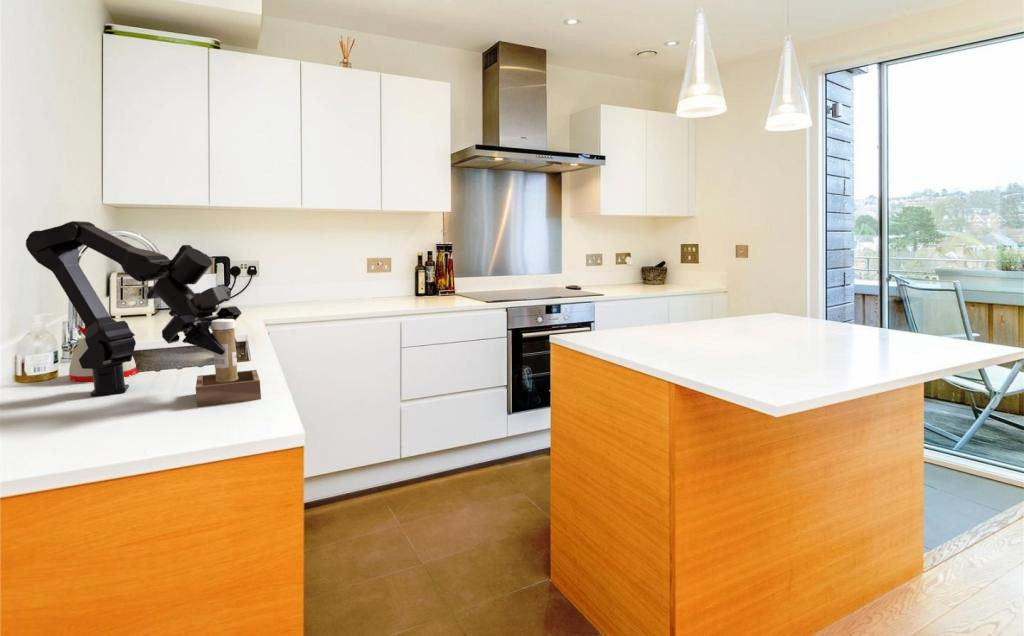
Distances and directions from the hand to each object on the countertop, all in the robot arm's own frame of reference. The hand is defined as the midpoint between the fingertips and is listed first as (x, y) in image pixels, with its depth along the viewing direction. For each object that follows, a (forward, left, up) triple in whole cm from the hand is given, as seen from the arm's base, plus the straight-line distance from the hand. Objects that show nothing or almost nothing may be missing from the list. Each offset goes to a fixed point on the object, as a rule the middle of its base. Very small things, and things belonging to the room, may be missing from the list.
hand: (230, 351), depth 124 cm
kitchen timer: (-39, -29, -10) cm, 49 cm away
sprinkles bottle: (-1, -1, -7) cm, 7 cm away
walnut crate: (-1, -1, -10) cm, 10 cm away
